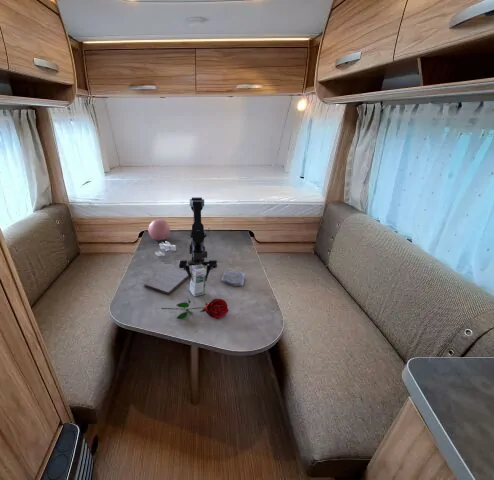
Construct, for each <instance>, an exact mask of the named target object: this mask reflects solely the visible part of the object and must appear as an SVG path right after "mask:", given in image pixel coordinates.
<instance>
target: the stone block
mask: <svg viewBox="0 0 494 480" xmlns="http://www.w3.org/2000/svg"><path fill="white" fill-rule="evenodd" d="M245 278H246V274H245V273H244V272H243V271H231V270H229V269H226V270H225V271H224V272H223V273H222V276H221V282H223V283H225V284H228V285H230V286H234V287H242V286H243V285H244V283H245Z"/></svg>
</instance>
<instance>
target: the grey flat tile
mask: <svg viewBox="0 0 494 480" xmlns="http://www.w3.org/2000/svg"><path fill="white" fill-rule="evenodd" d="M190 275H191V272H190ZM187 279H189V276H188V274H187V272H186V270H184V269H183V270H182V269H180V268H175V267H172V266H167V267H166V268H165V269H163V270H161V271H160V272H159V273H157V274H156V275H154V276H153V277H152V278H151V279H149V280H148V281H147V282H145V283H144V287H145V288H147V289H149V290H153V291H156V292H159V293H162V294H164V295H167V296H169V295H171V294H172V293H173V292H174V291H175V290H176V289H177V288H178V287H180V285H182V284H183V283H184V282H186V280H187Z"/></svg>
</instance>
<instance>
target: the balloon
mask: <svg viewBox="0 0 494 480" xmlns="http://www.w3.org/2000/svg"><path fill="white" fill-rule="evenodd" d="M147 230H148V234H149V236H150V238H151V239H153V240H155V241H159V242H160V241H164V240H165V239H167V238H168V237H169V236H170V233H171V227H170V225H169V223H168V222H167V221H166V220H164V219H161V218H157V219H154V220H152V221H151V222H150V224H149V225H148V229H147Z"/></svg>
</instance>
